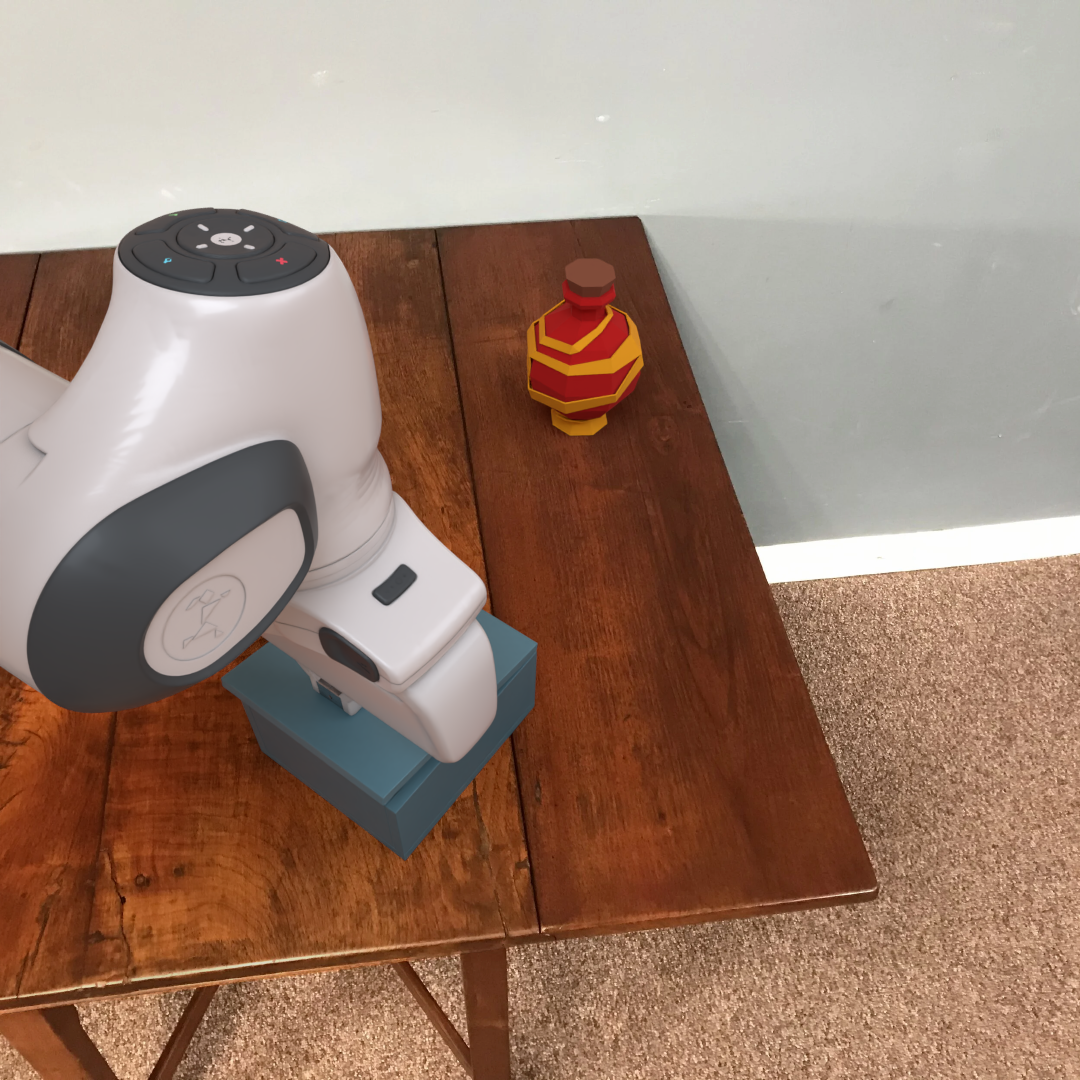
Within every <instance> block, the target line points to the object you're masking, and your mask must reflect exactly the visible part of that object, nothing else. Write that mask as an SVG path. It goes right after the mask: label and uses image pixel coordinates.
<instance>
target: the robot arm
mask: <svg viewBox="0 0 1080 1080" xmlns="http://www.w3.org/2000/svg"><path fill="white" fill-rule="evenodd" d="M112 262H113V264H112V288H111V289H112V290H111V296H110V301H109V305H108V308H107V311H106V314H105V316H104V318H103V321H102V323H101V326H100V328H99V330H98V333H97V335H96V337H95V339H94V342H93V344H92V346H91V348H90V350H89V352H88V353H87V355H86V357H85V358H84V360H83V362H82V364H81V365H80V367H79V369H78V371H77V372H76V374H75V376H74V377H73V378H72V380H71V381H69V380H67V379H65V378H64V377H62V376H60V375H58V374H56V373H55V372H52V371H51V370H49V369H47V368H45V367H43V366H41V365H39V364H38V363H36V361H34V360H33V359H32V358H29V356H27V355H25V354H23V353H22V352H21V351H19V350H18V349H16V348H15V347H13V346H11V345H9V344H8V343H6V342H5V341H3V340H2V339H0V668H2V669H3V670H5V671H7V672H8V673H9V674H11V675H13V676H14V677H16V678H17V679H18V680H20V681H21V682H23V683H24V684H26V685H27V686H28V687H30V688H32V689H33V690H34V691H37V692H38V693H39V694H41V695H42V696H44V697H45V698H46V699H47V700H49V701H50V702H51V703H52V704H55V705H56V706H58V707H59V708H63V709H65V710H67V711H71V712H76V713H82V714H105V713H113V712H121V711H127V710H132V709H136V708H140V707H144V706H147V705H150V704H154V703H157V702H160V701H162V700H165V699H167V698H170V697H172V696H174V695H177V694H179V693H181V692H183V691H186V690H187V689H189V688H191V687H193V686H196V685H198V684H200V683H201V682H203V681H205V680H207V679H209V678H211V677H212V676H214V675H216V674H217V673H218V672H220V671H222V670H223V669H225V668H226V667H227V666H229V665H231V664H232V662H234V661H235V660H236V659H237V658H238V657H239V656H240V655H242V654H243V653H244V652H245V651H247V650H248V649H249V648H250V647H251V646H252V645H253V644H254V643H255V642H256V641H257V640H258V639H259V638H260V637H262V638H263V639H265V640H266V641H268V642H271V643H272V644H273V645H275V646H276V647H278V648H279V649H280V650H282V651H283V652H285V653H286V654H288V655H289V656H290V657H292V658H293V659H295V660H296V661H297V663H298V664H299V665H300V666H301V667H302V669H303V670H304V671H305V672H306V673H307V675H309V676H310V679H311V683H312V686H313V689H314V690H316V691H317V692H318V693H320V694H321V695H322V696H324V697H325V698H327V699H328V700H330V701H331V702H333V703H334V704H336V705H337V706H338V707H340V708H341V709H342V710H344V711H345V712H346V713H348V714H349V715H351V716H352V715H354V714H356V713H357V712H358V711H359V710H360V709H361V708H362V707H363V708H364V709H366V710H367V711H369V712H370V713H372V714H373V715H374V716H376V717H377V718H379V719H380V720H382V721H383V722H384V723H386V724H387V725H389V726H390V727H392V728H393V729H394V730H396V731H397V732H399V733H400V734H402V735H403V736H404V737H406V738H407V739H409V740H410V741H411V742H413V743H414V744H416V745H417V746H419V747H420V748H421V749H423V750H424V751H426V752H427V753H428V754H430V755H431V756H432V757H434V758H435V759H436V760H438V761H440V762H443V763H453V762H457V761H459V760H460V759H461V758H463V757H464V756H465V755H466V754H467V753H468V752H469V751H470V750H471V748H472V747H473V746H474V745H475V744H476V743H477V742H478V740H479V739H480V738H481V737H482V736H483V734H484V733H485V732H486V730H487V729H488V728H489V726H490V725H491V723H492V722H493V720H494V718H495V715H496V711H497V683H496V672H495V664H494V657H493V652H492V648H491V644H490V642H489V639H488V637H487V635H486V633H485V631H484V629H483V628H482V626H481V625H480V623H479V622H478V621H477V620H476V617H477V615H478V614H479V613H480V611H481V610H482V609H483V608H484V607H485V605H486V603H487V600H488V599H487V598H488V594H487V593H488V592H487V587H486V584H485V582H484V581H483V580H482V579H481V577H480V576H479V575H478V574H477V572H476V571H474V570H473V569H472V568H470V567H469V566H468V565H467V564H466V563H465V562H464V561H463V560H461V558H459V557H458V556H457V555H456V554H455V553H453V551H451V550H450V549H449V548H448V547H447V546H446V545H444V543H443V542H442V541H441V540H439V539H438V537H436V535H434V534H433V533H432V532H431V531H430V529H428V527H427V526H426V525H425V524H424V523H423V522H422V521H421V519H420V518H419V517H418V516H417V515H416V513H415V512H414V510H413V509H412V508H411V507H410V505H409V504H408V503H407V502H406V500H405V499H404V498H403V497H401V496H400V494H399V493H397V492H396V491H395V490H393V485H392V478H391V475H390V471H389V468H388V464H387V463H386V460H385V459H384V457H383V455H382V453H381V451H380V450H379V448H378V446H379V441H380V437H381V433H382V425H383V424H382V422H383V415H382V414H383V413H382V405H381V404H382V403H381V397H380V396H381V395H380V389H379V383H378V377H377V371H376V365H375V359H374V353H373V348H372V344H371V339H370V334H369V331H368V327H367V323H366V322H367V321H366V319H365V316H364V312H363V309H362V305H361V302H360V299H359V297H358V294H357V291H356V288H355V286H354V283H353V281H352V279H351V277H350V274H349V272H348V270H347V268H346V267H345V264H344V263H343V262H342V259H341V258H340V257H339V255H338V254H337V252H336V251H335V249H334V247H332V246H331V245H330V244H329V243H328V241H326V240H324V239H323V238H320V237H318V235H317V234H315V233H313V232H311V231H309V230H307V229H304V228H303V227H301V226H298V225H296V224H294V223H291V222H289V221H286V220H283V219H281V218H277V217H275V216H272V215H268V214H266V213H262V212H259V211H254V210H250V209H245V208H239V209H238V208H237V209H236V208H214V207H211V206H209V207H197V208H190V209H183V210H178V211H174V212H169V213H166V214H163V215H160V216H158V217H155V218H153V219H151V220H148V221H146V222H144V223H142V224H140V225H137V226H136V227H135V228H132V229H131V230H129V231H128V232H127V233H126V234H125V235H124V236H123V237H122V238H121V239H120V240H119V242H118V244H117V245H116V247H115V251H114V255H113V260H112Z"/></svg>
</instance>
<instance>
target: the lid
mask: <svg viewBox="0 0 1080 1080" xmlns="http://www.w3.org/2000/svg"><path fill="white" fill-rule="evenodd" d="M476 620H477V621H478V622H479V623H480V625H481V626H482V628H483V629H484V631H485V633H486V635H487V637H488V639H489V642H490V644H491V648H492V652H493V657H494V664H495V672H496V683H497V690H498V689H499V688H500V687H501V686H502V685H503V684H504V683H505V682H506V681H507V680H508V679H509V678H510V677H511V676H512V675H513V674H514V673H515V672H516V671H517V670H518V669H519V668H520V667H521V666H522V665H523V664H524V663H525V662H526V661H527V660H528V659H529V658H530V657H531V656H532V655H533V654H534V653H535V652H536V651H537V649H538V644H539V643H538V642H536V641H535V640H534V639H531V638H530V637H528V636H526V635H525V634H523V633H521V632H520V631H519V630H517V629H515V628H513V627H512V626H511V625H509V624H508V623H505V622H504V621H502V620H501V619H499V618H497V617H495V616H494V615H493V614H491V613H490V612H488V611H486V610H484V609H483V608H482V610H481V611H480V613H479V614H478V615H477V617H476ZM537 652H538V651H537ZM220 681H221V685H222V687H223V688H224V689H225V690H227V691H228V692H230V693H231V694H232V695H234V696H235V697H236V698H237V699H238V700H240V701H241V700H242V701H243V702H244V703H246V704H247V705H248V706H250V707H251V708H253V709H254V710H255V711H257V712H258V713H259V714H261V715H262V716H263V717H265V718H266V719H267V720H269V721H270V722H271V723H273V724H274V725H275V726H277V727H278V728H279V729H281V730H282V731H283V732H285V733H286V734H287V735H289V736H290V737H291V738H293V739H294V740H295V741H297V742H298V743H299V744H301V745H302V746H303V747H305V748H306V749H307V750H309V751H310V752H312V753H313V754H314V755H316V756H317V757H318V758H320V759H321V760H322V761H324V762H325V763H326V764H328V765H329V766H330V767H332V768H333V769H334V770H336V771H337V772H338V773H340V774H341V775H342V776H344V777H345V778H346V779H348V780H349V781H350V782H352V783H353V784H354V785H356V786H357V787H358V788H360V789H361V790H362V791H364V792H365V793H366V794H368V795H369V796H371V797H372V798H373V799H375V800H376V801H377V802H379V803H380V804H381V805H385V804H386V803H387V802H388V801H389V800H390V799H391V798H392V797H393V796H394V795H395V793H396V792H397V791H398V790H399V789H400V788H401V787H402V786H403V785H404V784H405V783H406V782H407V781H408V780H409V779H410V778H411V777H412V776H413V775H414V774H415V773H416V772H417V771H418V770H419V769H420V768H421V767H422V766H423V765H424V764H425V763H426V762H427V761H428V760H429V759H430V758H431V757H432V756H431V755H430V754H428V753H427V752H426V751H424V750H423V749H421V748H420V747H419V746H417V745H416V744H414V743H413V742H411V741H410V740H409V739H407V738H406V737H404V736H403V735H402V734H400V733H399V732H397V731H396V730H394V729H393V728H392V727H390V726H389V725H387V724H386V723H384V722H383V721H382V720H380V719H379V718H377V717H376V716H374V715H373V714H372V713H370V712H369V711H367V710H366V709H364V708H363V707H362V708H361V709H360V710H359V711H358V712H357V713H356V714H354V715H352V716H351V715H349V714H348V713H346V712H345V711H344V710H342V709H341V708H340V707H338V706H337V705H336V704H334V703H333V702H331V701H330V700H328V699H327V698H325V697H324V696H322V695H321V694H320V693H318V692H317V691H316V690H314V689H313V686H312V683H311V679H310V676H309V675H307V673H306V672H305V671H304V670H303V669H302V667H301V666H300V665H299V664H298V663H297V661H296V660H295V659H293V658H292V657H290V656H289V655H288V654H286V653H285V652H283V651H282V650H280V649H279V648H278V647H276V646H275V645H273V644H272V643H271V642H269V641H268V642H266V643H265V644H264V645H262V646H261V647H260V648H259V649H257V650H255V651H254V652H253V653H252V654H250V655H249V656H248V657H246V658H245V659H244V660H243V661H241V662H240V663H238V665H235V667H234V668H232V669H230V670H229V671H228V672H226V673H225V674H224V675H223V676H222V677H221V678H220Z"/></svg>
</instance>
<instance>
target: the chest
mask: <svg viewBox="0 0 1080 1080" xmlns="http://www.w3.org/2000/svg"><path fill="white" fill-rule="evenodd" d="M537 659H538V651H536V652H535V653H534V654H533V655H532V656H531V657H530V658H529V659H528V660H527V661H526V662H525V663H524V664H523V665H522V666H521V667H520V668H519V669H518V670H517V671H516V672H515V673H514V674H513V675H512V676H511V677H510V678H509V679H508V680H507V681H506V682H505V683H504V684H503V685H502V686H501V687H500V688H499V689H498V690H497V711H496V715H495V718H494V720H493V722H492V723H491V725H490V726H489V728H488V729H487V730H486V732H485V733H484V734H483V736H482V737H481V738H480V739H479V740H478V742H477V743H476V744H475V745H474V746H473V747H472V748H471V750H470V751H469V752H468V753H467V754H466V755H465V756H464V757H463V758H461V759H460V760H459V761H457V762H453V763H443V762H440V761H438V760H436V759H435V758H434V757H431V758H430V759H429V760H428V761H427V762H426V763H425V764H424V765H423V766H422V767H421V768H420V769H419V770H418V771H417V772H416V773H415V774H414V775H413V776H412V777H411V778H410V779H409V780H408V781H407V782H406V783H405V784H404V785H403V786H402V787H401V788H400V789H399V790H398V791H397V792H396V793H395V795H394V796H393V797H392V798H391V799H390V800H389V801H388V802H387V803H386V804H385V805H381V804H380V803H379V802H377V801H376V800H375V799H373V798H372V797H371V796H369V795H368V794H366V793H365V792H364V791H362V790H361V789H360V788H358V787H357V786H356V785H354V784H353V783H352V782H350V781H349V780H348V779H346V778H345V777H344V776H342V775H341V774H340V773H338V772H337V771H336V770H334V769H333V768H332V767H330V766H329V765H328V764H326V763H325V762H324V761H322V760H321V759H320V758H318V757H317V756H316V755H314V754H313V753H312V752H310V751H309V750H307V749H306V748H305V747H303V746H302V745H301V744H299V743H298V742H297V741H295V740H294V739H293V738H291V737H290V736H289V735H287V734H286V733H285V732H283V731H282V730H281V729H279V728H278V727H277V726H275V725H274V724H273V723H271V722H270V721H269V720H267V719H266V718H265V717H263V716H262V715H261V714H259V713H258V712H257V711H255V710H254V709H253V708H251V707H250V706H248V705H247V704H246V703H244V702H243V701H242V700H240V703H241V704H242V707H243V709H244V711H245V714H246V716H247V719H248V722H249V724H250V726H251V729H252V730H253V734H254V736H255V739H256V741H257V743H258V746H259V748H260V751H261V752H262V753H263V754H265V755H266V756H267V757H268V758H270V759H271V760H273V761H274V762H275V763H277V765H279V766H281V767H282V769H284V770H285V771H287V772H288V773H290V774H291V775H292V776H294V777H295V778H296V779H297V780H298V781H300V782H301V783H303V784H304V785H305V786H307V787H308V788H309V789H311V790H312V791H313V792H314V793H316V794H317V795H318V796H320V797H321V798H322V799H324V800H325V801H326V802H327V803H329V804H330V805H331V806H333V807H334V808H335V809H337V811H339V812H341V813H342V814H343V815H345V816H346V817H347V818H349V820H351V821H353V823H355V824H356V825H358V826H359V827H360V828H362V829H363V830H364V831H365V832H366V833H368V834H369V835H371V836H372V837H373V838H375V839H376V840H377V841H378V842H379V843H381V844H382V845H383V846H385V847H386V848H387V849H389V850H390V851H392V852H393V854H395V855H397V856H399V858H400V859H402V860H403V861H407V860H408V859H409V857H410V856H411V855H412V854H413V853H414V851H415V850H416V849H417V848H418V846H419V845H420V844H421V843H422V842H423V840H424V839H425V838H426V837H427V836H428V834H429V833H430V832H431V831H432V830H433V829H434V827H435V826H436V825H437V824H438V822H439V821H440V820H441V819H442V817H443V816H444V815H445V814H446V813H447V812H448V810H449V809H450V808H451V807H452V806H453V804H454V803H455V802H456V801H457V800H458V798H459V797H460V796H461V795H462V794H463V792H464V791H465V790H466V789H467V788H468V786H469V785H470V784H471V783H472V782H473V781H474V779H475V778H476V777H477V776H478V775H479V773H480V772H481V771H482V770H483V769H484V767H485V766H486V765H487V764H488V762H489V761H490V760H491V759H492V758H493V757H494V755H495V754H496V753H497V752H498V751H499V750H500V748H501V747H502V746H503V745H504V744H505V742H506V741H507V740H508V739H509V738H510V736H511V735H512V734H513V733H514V731H515V730H516V729H517V728H518V726H519V725H520V724H521V723H522V722H523V721H524V719H525V718H526V717H527V716H528V715H529V714H530V712H531V711H532V710H533V709H534V707H535V705H536V704H535V703H536V701H535V700H536V683H537V680H536V679H537Z"/></svg>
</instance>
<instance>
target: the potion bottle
mask: <svg viewBox="0 0 1080 1080" xmlns="http://www.w3.org/2000/svg"><path fill="white" fill-rule="evenodd" d="M564 272H565V278H566V279H565V280H564V281H563V282H562V283H561V287H562V295H563V300H561V301H560V302H559V303H557V304H555V306H553V307H551V308H550V309H549V310H548V311H546V312H545V313H543V314H542V315H541V316H540V317H539V318H538V319H536V320H534V321H533V322H532V323H531V324H530V326H529V327H528V329H527V331H526V341H527V343H526V344H527V352H526V353H527V354H526V369H527V371H526V372H527V390H528V393H529V396H530V398H531V399H532V400H535V401H537V402H539V403H541V404H543V405H544V406H548V407H549V408H550V413H551V423H552V424H551V425H552V426H553V427H555V428H557V429H558V430H560V431H561V432H563V433H565V434H566V435H568V436H569V437H570V436H571V437H573V436H574V437H575V436H594V435H595V434H596V433H598V432H599V431H600V430H602V429H603V428H604V427H606V425H608V418H607V413H608V412H609V411H611V410H613V408H614V407H616V406H617V405H618V404H620V403H621V402H622V401H623V400H625V399H626V398H627V397H628V396H629V395H630V394H632V393H633V392H634V391H635V389H636V387H637V384H638V381H639V379H640V376H641V373H642V372H641V370H642V368H643V367H644V365H645V363H644V358H643V351H642V345H641V339H640V336H639V331H638V326H637V325H636V323H635V322H634V321H633V320H632V318H631V317H630V316H629V314H628V313H627V312H624V311H623V310H620V309H619V308H617V307H615V306H613V305H611V303H612V302H613V301H615V299H616V297H617V294H616V290H615V284H614V282H615V281H616V278H617V277H616V271H615V267H614V265H612V264H610V263H607V261H604V260H602V259H600V258H593V257H592V258H577V259H575V260H573V261H572V262H570V263H568V264H567V265H565V266H564Z"/></svg>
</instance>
